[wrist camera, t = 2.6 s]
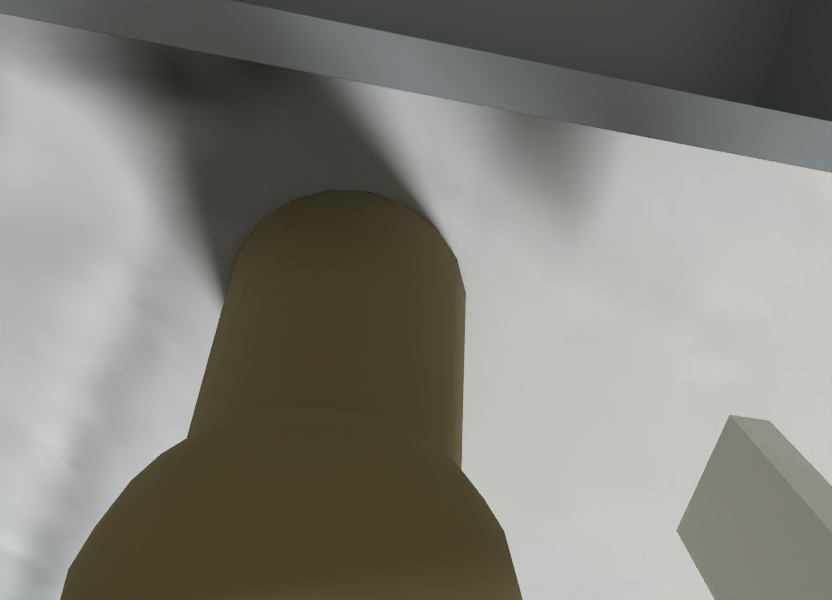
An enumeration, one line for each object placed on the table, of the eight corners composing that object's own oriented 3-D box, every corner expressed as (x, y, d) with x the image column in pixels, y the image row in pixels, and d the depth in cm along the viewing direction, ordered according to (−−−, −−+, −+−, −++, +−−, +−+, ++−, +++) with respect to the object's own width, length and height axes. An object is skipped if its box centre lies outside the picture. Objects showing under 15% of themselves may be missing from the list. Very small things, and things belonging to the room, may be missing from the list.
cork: (473, 394, 17) (603, 930, 7) (255, 418, 17) (57, 991, 7) (456, 175, 14) (620, 501, 4) (202, 204, 14) (-232, 597, 4)
